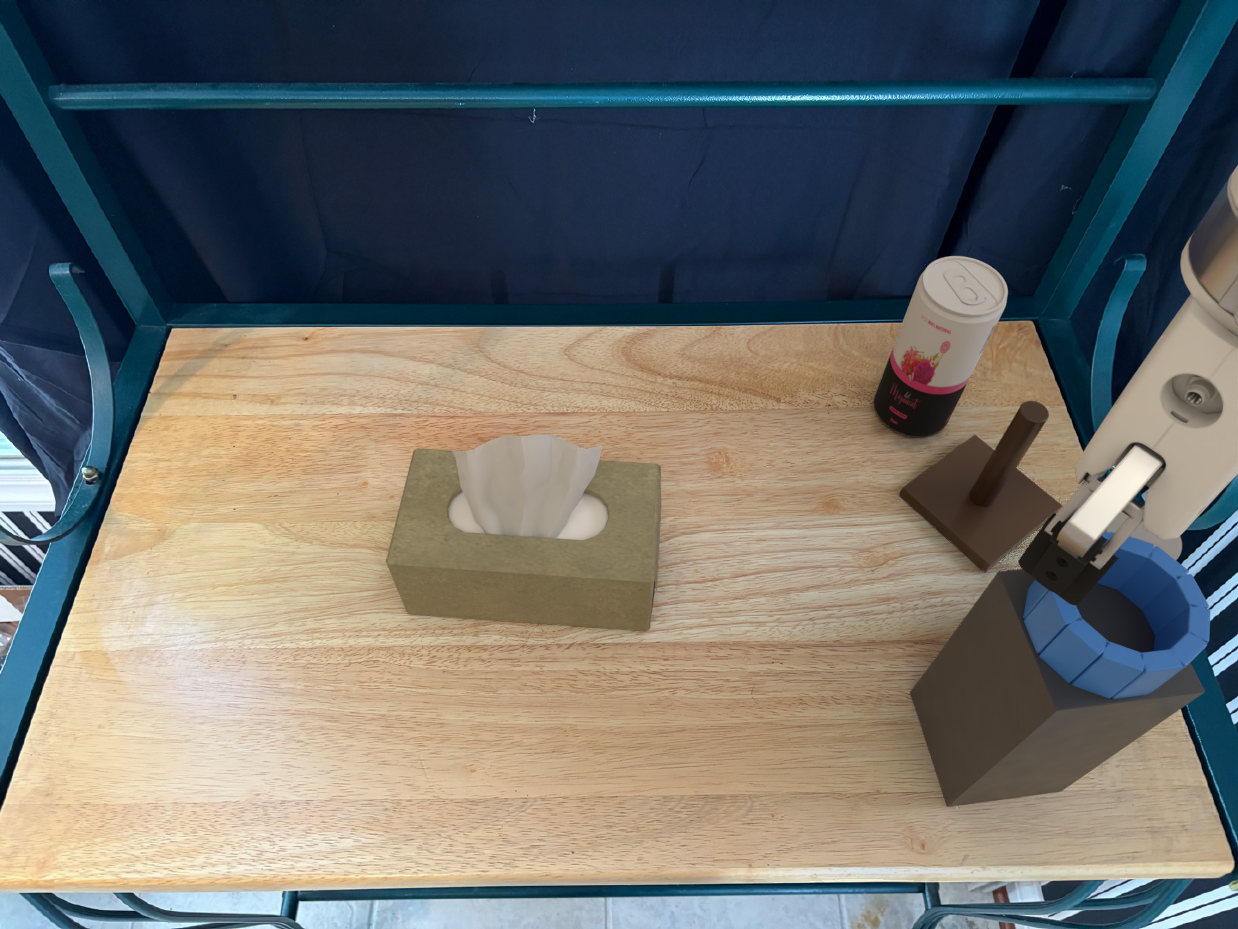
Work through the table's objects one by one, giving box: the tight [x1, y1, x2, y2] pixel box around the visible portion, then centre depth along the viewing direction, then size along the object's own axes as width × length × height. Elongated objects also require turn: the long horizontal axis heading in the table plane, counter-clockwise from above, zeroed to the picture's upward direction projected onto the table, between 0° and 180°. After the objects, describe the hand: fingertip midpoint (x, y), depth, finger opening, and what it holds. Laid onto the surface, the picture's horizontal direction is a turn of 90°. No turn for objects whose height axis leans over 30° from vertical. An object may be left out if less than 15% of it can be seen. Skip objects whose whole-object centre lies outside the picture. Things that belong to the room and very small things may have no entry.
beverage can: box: [873, 255, 1009, 438], centre depth 74 cm, size 7×7×15 cm
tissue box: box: [385, 433, 662, 632], centre depth 64 cm, size 19×10×16 cm, turn 86°
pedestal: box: [909, 568, 1206, 808], centre depth 56 cm, size 8×8×18 cm
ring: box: [1023, 532, 1211, 699], centre depth 47 cm, size 8×8×4 cm
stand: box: [898, 400, 1063, 573], centre depth 69 cm, size 9×9×12 cm
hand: (1101, 524), depth 45 cm, fingers open, 9 cm apart
